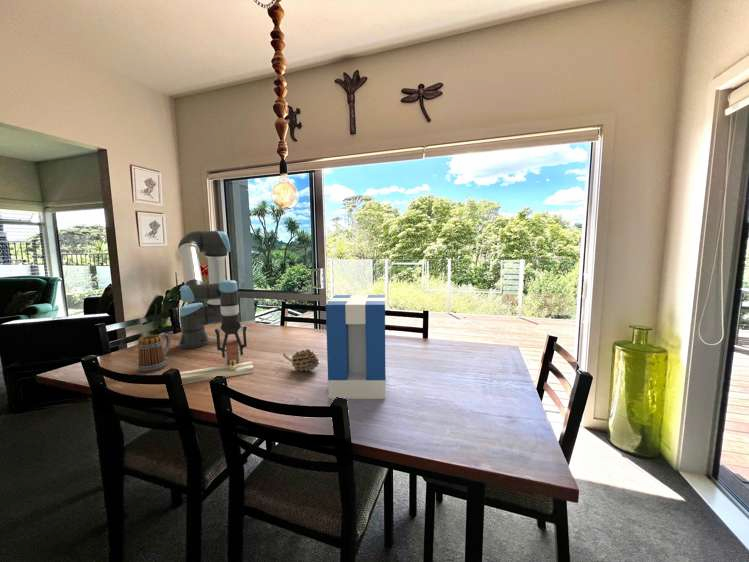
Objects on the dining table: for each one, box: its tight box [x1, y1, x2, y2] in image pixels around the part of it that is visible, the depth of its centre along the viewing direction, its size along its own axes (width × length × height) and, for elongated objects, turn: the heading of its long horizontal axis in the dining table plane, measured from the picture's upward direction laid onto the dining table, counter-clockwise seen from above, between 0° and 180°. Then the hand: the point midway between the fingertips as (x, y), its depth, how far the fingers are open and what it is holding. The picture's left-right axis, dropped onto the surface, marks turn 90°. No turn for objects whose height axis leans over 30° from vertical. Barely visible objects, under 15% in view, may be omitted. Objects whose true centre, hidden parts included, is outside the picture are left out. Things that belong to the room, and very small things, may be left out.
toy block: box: [325, 294, 387, 400], centre depth 123 cm, size 21×21×35 cm
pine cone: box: [282, 348, 320, 372], centre depth 142 cm, size 22×10×10 cm, turn 62°
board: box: [179, 361, 254, 385], centre depth 137 cm, size 9×30×2 cm, turn 114°
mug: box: [137, 332, 171, 374], centre depth 146 cm, size 16×11×15 cm
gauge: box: [225, 338, 239, 371], centre depth 141 cm, size 14×5×12 cm, turn 24°
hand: (233, 362), depth 146 cm, fingers closed on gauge, 5 cm apart
